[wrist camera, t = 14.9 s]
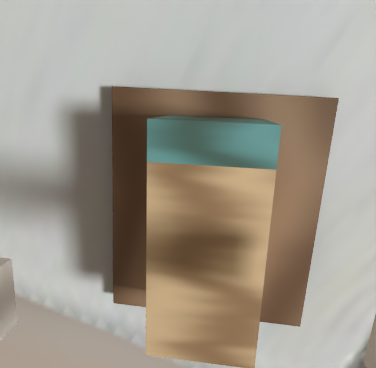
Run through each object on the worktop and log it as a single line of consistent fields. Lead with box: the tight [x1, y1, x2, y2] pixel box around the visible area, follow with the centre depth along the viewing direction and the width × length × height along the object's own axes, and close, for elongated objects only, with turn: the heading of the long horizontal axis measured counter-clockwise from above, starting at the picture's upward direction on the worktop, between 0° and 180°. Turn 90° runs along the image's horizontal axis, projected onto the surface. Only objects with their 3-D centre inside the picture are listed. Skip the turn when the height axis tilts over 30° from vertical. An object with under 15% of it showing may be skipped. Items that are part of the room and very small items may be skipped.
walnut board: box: [112, 87, 339, 326], centre depth 22 cm, size 14×16×1 cm
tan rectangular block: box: [146, 115, 281, 368], centre depth 18 cm, size 6×6×13 cm
